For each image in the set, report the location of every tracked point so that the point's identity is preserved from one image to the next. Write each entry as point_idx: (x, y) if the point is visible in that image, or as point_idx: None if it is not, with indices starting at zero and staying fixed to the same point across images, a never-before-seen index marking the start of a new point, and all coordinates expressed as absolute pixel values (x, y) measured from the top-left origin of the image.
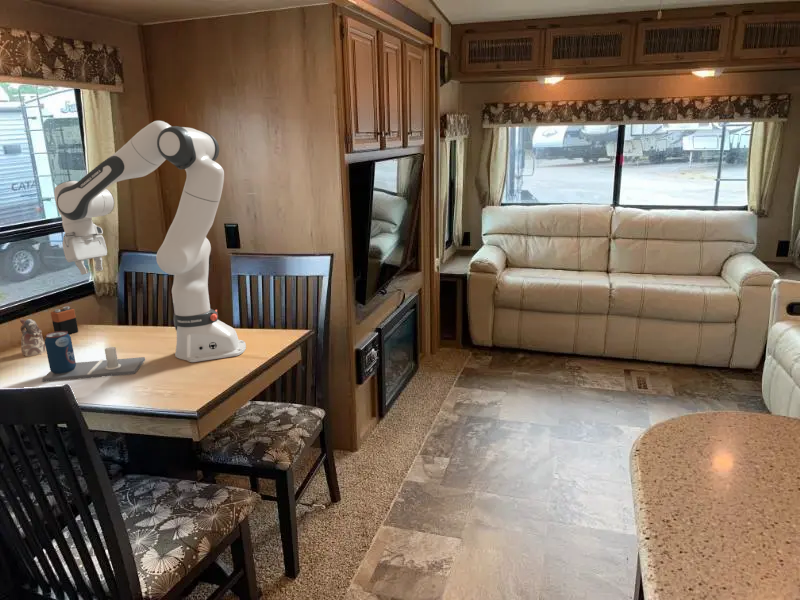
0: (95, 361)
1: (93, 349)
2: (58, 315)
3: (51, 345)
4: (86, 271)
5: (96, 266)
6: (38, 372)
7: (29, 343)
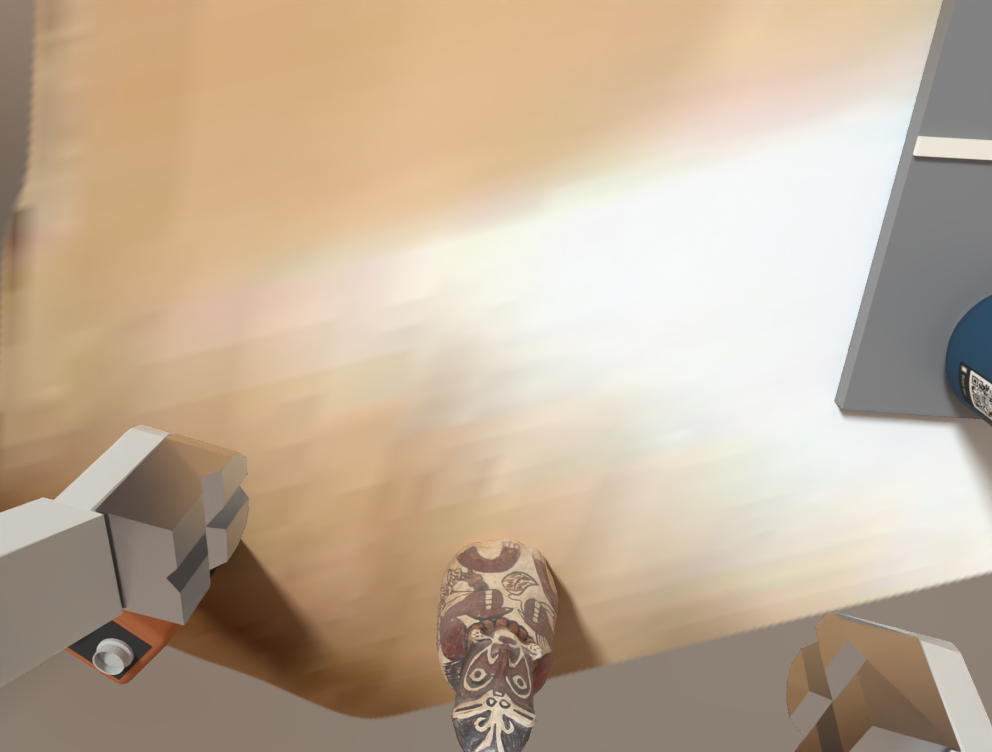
0: (914, 187)
1: (551, 284)
2: (166, 626)
3: None
4: (944, 668)
5: (182, 589)
6: (874, 480)
7: (552, 637)
